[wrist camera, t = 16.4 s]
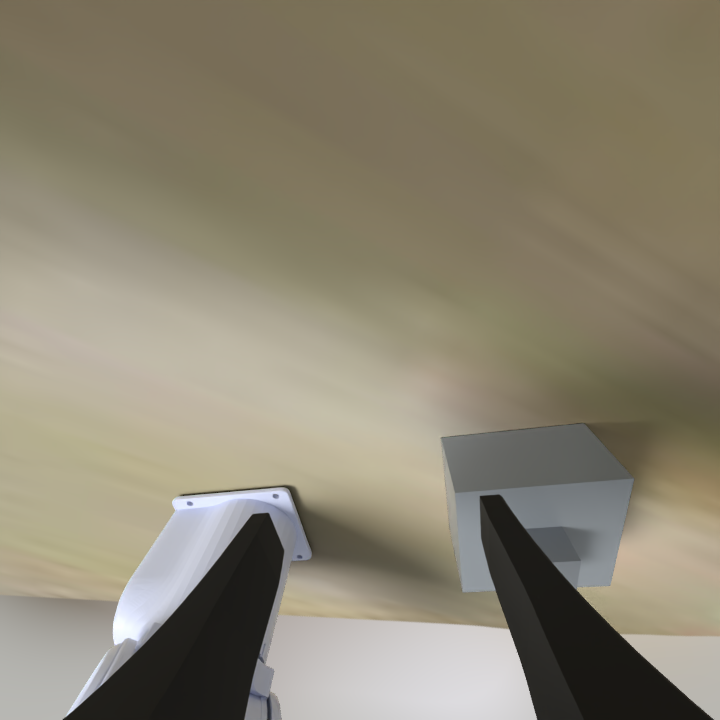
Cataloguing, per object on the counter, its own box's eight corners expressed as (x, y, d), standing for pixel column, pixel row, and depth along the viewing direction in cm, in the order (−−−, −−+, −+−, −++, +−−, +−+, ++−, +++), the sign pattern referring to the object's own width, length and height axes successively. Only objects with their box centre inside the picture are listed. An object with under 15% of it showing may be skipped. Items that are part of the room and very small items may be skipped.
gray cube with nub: (449, 528, 26) (469, 627, 20) (441, 437, 22) (463, 525, 16) (571, 520, 25) (632, 622, 19) (584, 423, 21) (664, 511, 15)
